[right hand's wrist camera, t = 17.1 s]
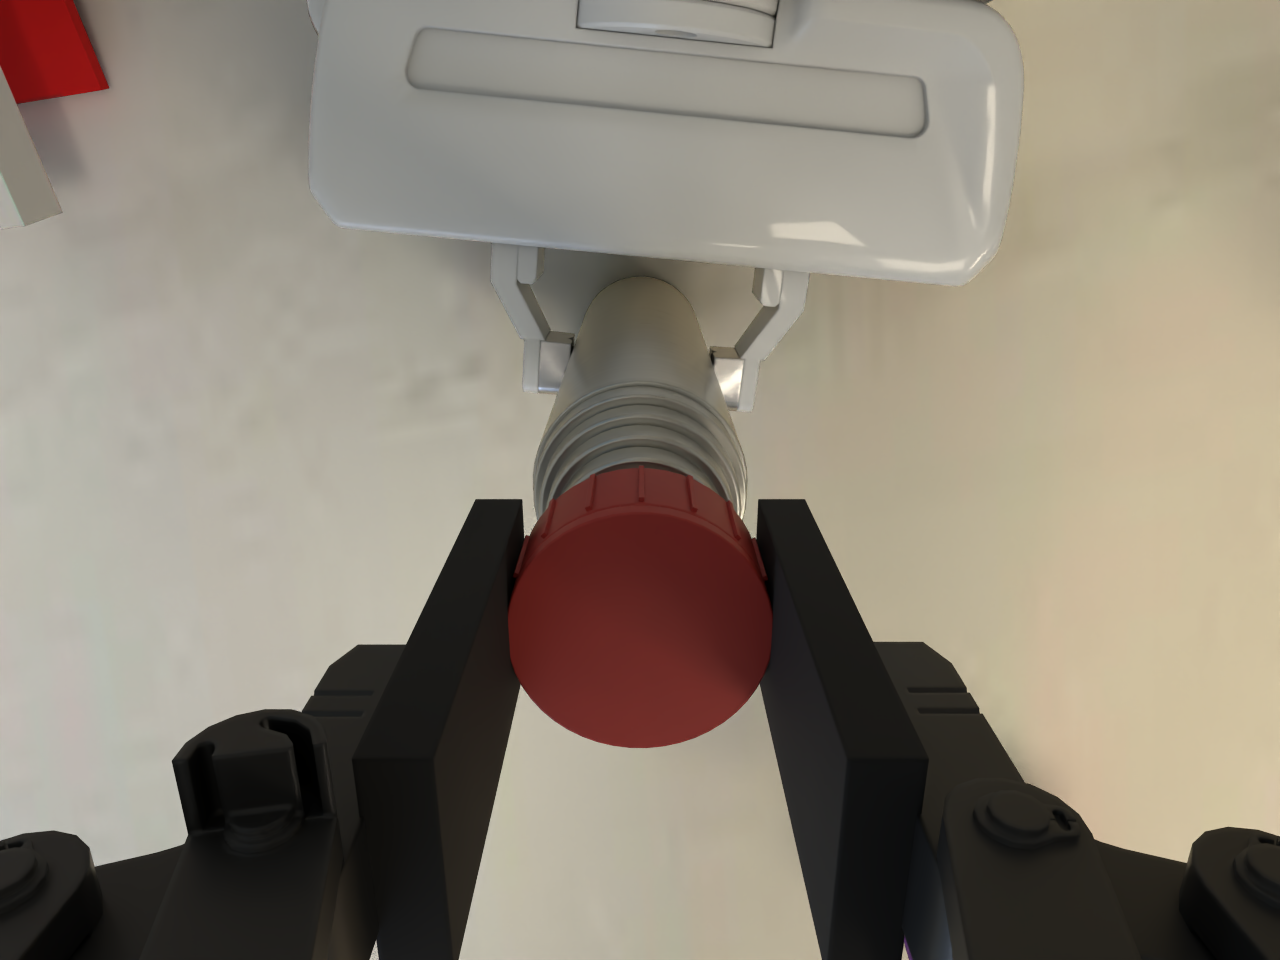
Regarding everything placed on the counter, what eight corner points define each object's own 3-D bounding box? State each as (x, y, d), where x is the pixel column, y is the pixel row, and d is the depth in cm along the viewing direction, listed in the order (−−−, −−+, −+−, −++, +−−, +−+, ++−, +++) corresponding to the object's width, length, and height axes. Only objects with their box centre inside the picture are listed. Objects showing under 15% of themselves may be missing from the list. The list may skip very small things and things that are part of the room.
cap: (607, 717, 15) (602, 791, 14) (472, 546, 14) (448, 601, 13) (803, 609, 15) (826, 671, 13) (677, 418, 14) (683, 458, 12)
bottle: (571, 287, 34) (456, 504, 13) (689, 266, 33) (773, 454, 12) (593, 401, 35) (524, 763, 14) (706, 382, 35) (806, 723, 14)
